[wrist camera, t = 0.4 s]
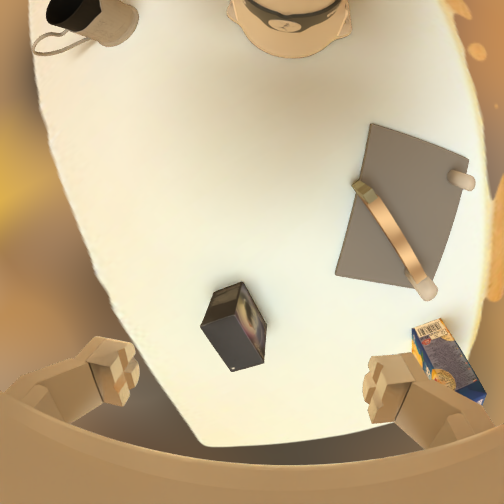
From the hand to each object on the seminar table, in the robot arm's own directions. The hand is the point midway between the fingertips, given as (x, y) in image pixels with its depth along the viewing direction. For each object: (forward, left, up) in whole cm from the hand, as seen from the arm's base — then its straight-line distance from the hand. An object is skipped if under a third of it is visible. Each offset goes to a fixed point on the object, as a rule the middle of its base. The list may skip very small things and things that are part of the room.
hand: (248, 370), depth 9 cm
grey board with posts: (+1, +22, -38) cm, 44 cm away
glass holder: (-23, -33, -38) cm, 55 cm away
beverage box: (+26, +38, -38) cm, 59 cm away
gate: (+3, +18, -36) cm, 41 cm away
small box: (+24, -2, -38) cm, 45 cm away
